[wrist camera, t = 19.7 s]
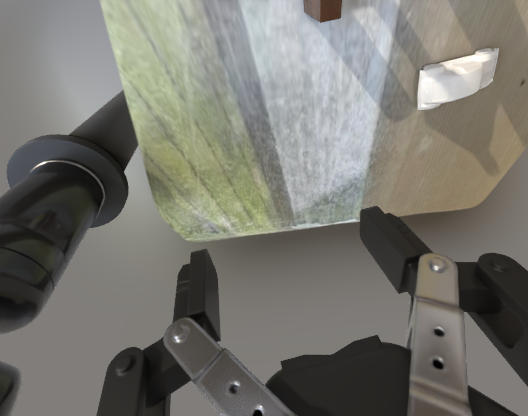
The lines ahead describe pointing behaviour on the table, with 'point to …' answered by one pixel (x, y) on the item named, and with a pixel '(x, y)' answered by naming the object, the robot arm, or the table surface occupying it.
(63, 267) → the robot arm
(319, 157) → the table surface
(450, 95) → the car
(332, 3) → the brown wooden frame
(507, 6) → the table surface
